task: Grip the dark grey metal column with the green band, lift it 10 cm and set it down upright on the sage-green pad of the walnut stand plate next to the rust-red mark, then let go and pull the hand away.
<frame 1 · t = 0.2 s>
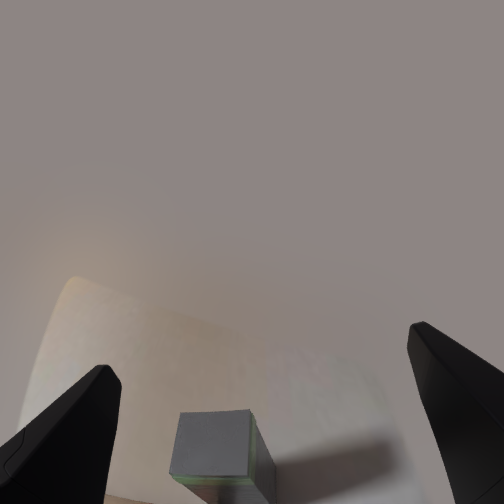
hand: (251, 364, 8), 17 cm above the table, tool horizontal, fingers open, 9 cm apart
column: (249, 490, 18), on the table
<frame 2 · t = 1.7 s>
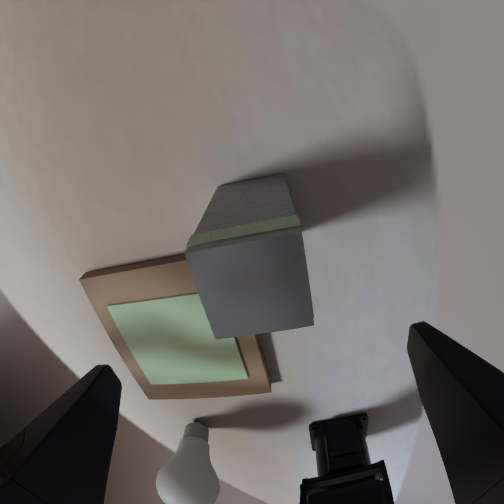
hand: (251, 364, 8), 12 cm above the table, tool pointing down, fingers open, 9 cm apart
column: (257, 210, 19), on the table
stand plate: (181, 336, 24), on the table
lightbulb: (198, 421, 30), on the table
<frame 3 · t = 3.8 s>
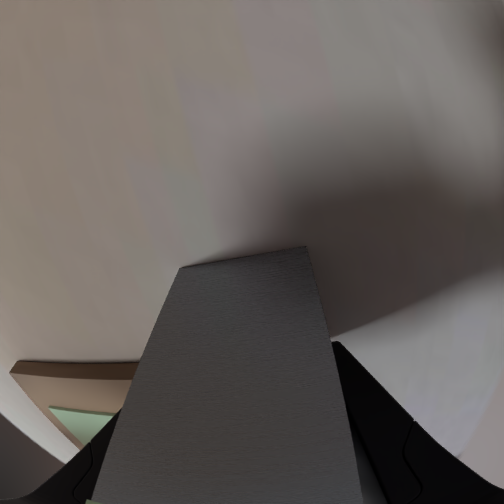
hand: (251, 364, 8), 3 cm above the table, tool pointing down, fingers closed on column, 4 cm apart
column: (254, 309, 10), on the table, touching gripper
stand plate: (152, 442, 15), on the table
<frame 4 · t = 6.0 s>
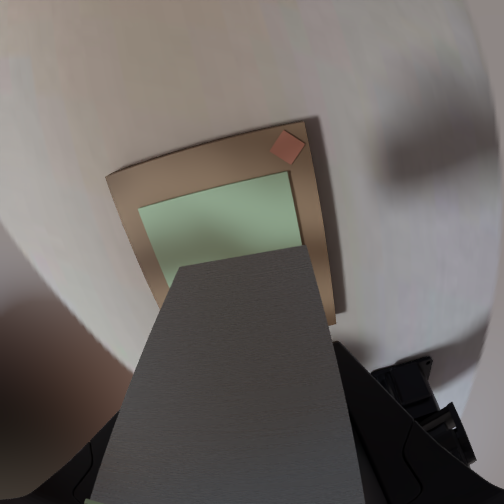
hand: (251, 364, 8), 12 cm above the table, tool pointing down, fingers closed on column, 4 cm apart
column: (254, 308, 10), point 10 cm above the table, touching gripper
stand plate: (230, 250, 20), on the table
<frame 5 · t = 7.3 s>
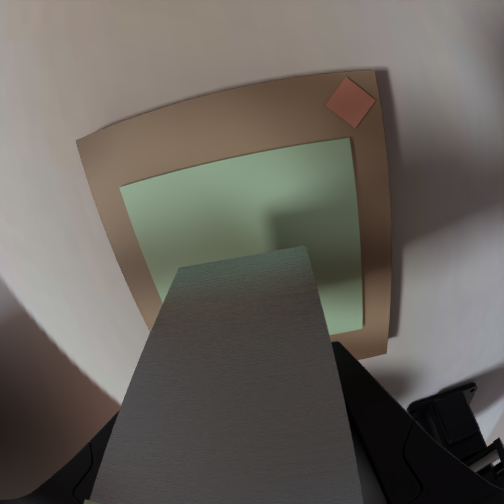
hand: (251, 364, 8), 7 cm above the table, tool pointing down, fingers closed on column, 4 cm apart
column: (253, 309, 10), point 4 cm above the table, touching gripper
stand plate: (254, 253, 14), on the table
when the fingers open (5 cm above the table, at t = 8.4 s): column stays where it is, resting on stand plate.
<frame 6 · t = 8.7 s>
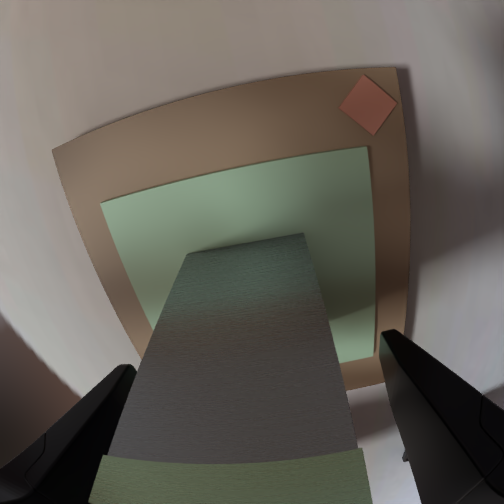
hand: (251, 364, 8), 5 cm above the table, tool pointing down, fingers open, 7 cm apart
column: (255, 292, 11), point 1 cm above the table, touching stand plate
stand plate: (254, 276, 12), on the table
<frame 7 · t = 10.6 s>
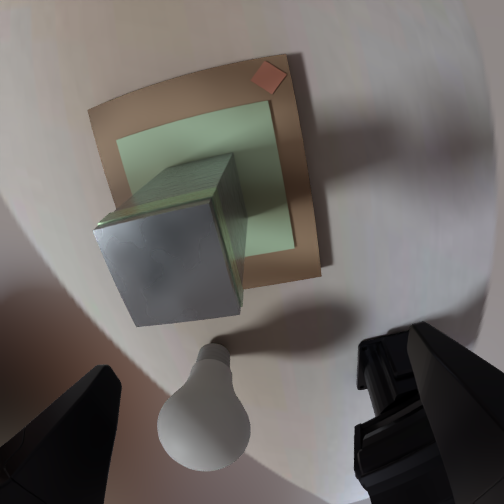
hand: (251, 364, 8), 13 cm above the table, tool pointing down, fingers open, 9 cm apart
column: (206, 192, 18), point 1 cm above the table, touching stand plate
stand plate: (208, 187, 19), on the table
lightbulb: (215, 346, 25), on the table
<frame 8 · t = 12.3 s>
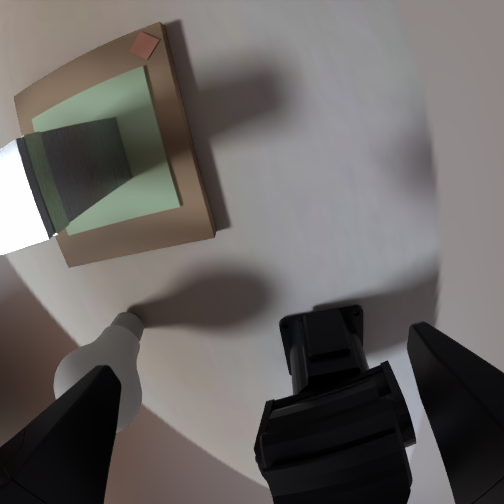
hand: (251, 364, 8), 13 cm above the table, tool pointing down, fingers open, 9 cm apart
column: (97, 157, 17), point 1 cm above the table, touching stand plate
stand plate: (105, 154, 18), on the table
lightbulb: (133, 316, 24), on the table
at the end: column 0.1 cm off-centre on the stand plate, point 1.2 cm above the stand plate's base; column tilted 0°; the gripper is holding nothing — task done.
